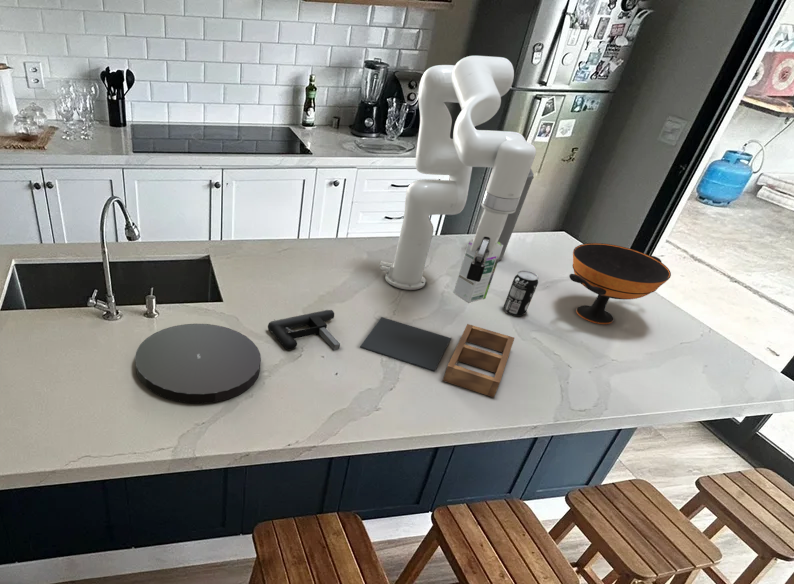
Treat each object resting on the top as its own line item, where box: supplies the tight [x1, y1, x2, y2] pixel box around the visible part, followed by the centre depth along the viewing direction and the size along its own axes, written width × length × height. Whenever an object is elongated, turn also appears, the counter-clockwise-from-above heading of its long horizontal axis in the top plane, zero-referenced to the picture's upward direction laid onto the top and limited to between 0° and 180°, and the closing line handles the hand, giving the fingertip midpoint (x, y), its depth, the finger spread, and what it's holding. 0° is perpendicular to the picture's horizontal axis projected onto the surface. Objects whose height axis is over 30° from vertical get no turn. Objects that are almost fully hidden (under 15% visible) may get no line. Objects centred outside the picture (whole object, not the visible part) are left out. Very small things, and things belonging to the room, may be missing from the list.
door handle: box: [267, 309, 341, 351], centre depth 152 cm, size 3×20×16 cm
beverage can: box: [503, 270, 539, 317], centre depth 168 cm, size 7×7×12 cm
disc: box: [134, 323, 262, 404], centre depth 138 cm, size 30×30×3 cm
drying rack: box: [442, 323, 515, 398], centre depth 146 cm, size 12×24×4 cm, turn 152°
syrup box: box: [452, 238, 503, 304], centre depth 138 cm, size 6×6×14 cm
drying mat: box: [359, 316, 452, 372], centre depth 154 cm, size 20×18×1 cm
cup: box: [569, 242, 672, 325], centre depth 168 cm, size 36×26×18 cm
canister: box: [477, 168, 535, 262], centre depth 192 cm, size 13×13×35 cm
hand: (476, 272), depth 139 cm, fingers closed on syrup box, 7 cm apart
